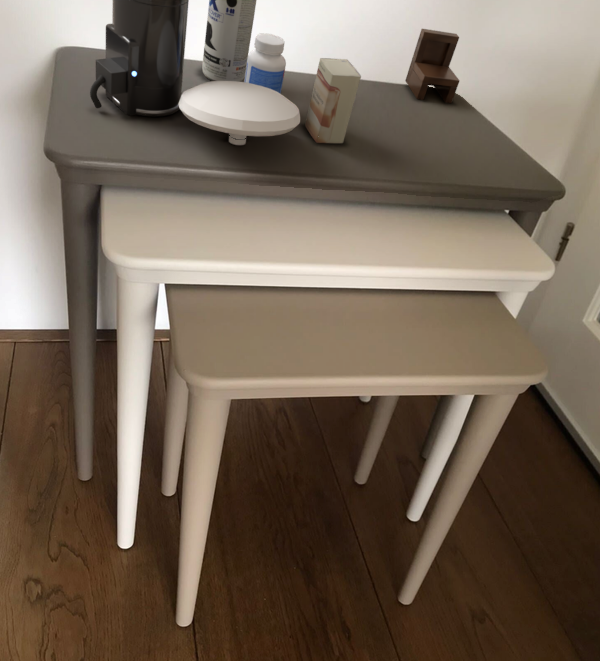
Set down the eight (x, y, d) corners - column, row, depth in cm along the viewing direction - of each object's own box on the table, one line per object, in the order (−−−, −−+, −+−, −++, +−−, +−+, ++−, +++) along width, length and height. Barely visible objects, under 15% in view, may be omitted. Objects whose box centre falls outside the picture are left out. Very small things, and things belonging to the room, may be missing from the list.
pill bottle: (284, 114, 97) (297, 47, 90) (252, 117, 94) (263, 48, 88) (266, 96, 100) (277, 30, 94) (234, 99, 97) (243, 31, 91)
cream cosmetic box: (303, 125, 96) (318, 56, 89) (331, 126, 98) (348, 58, 91) (315, 144, 93) (332, 73, 86) (344, 144, 94) (362, 75, 88)
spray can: (196, 65, 104) (210, -80, 90) (238, 67, 106) (257, -74, 93) (207, 84, 99) (224, -65, 86) (250, 86, 102) (273, -59, 89)
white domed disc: (157, 70, 85) (155, 125, 89) (219, 109, 75) (215, 169, 79) (260, 70, 94) (255, 120, 98) (328, 104, 84) (319, 158, 88)
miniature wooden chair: (416, 99, 112) (434, 45, 105) (405, 80, 116) (421, 28, 110) (451, 103, 113) (471, 50, 107) (438, 85, 118) (456, 33, 112)
